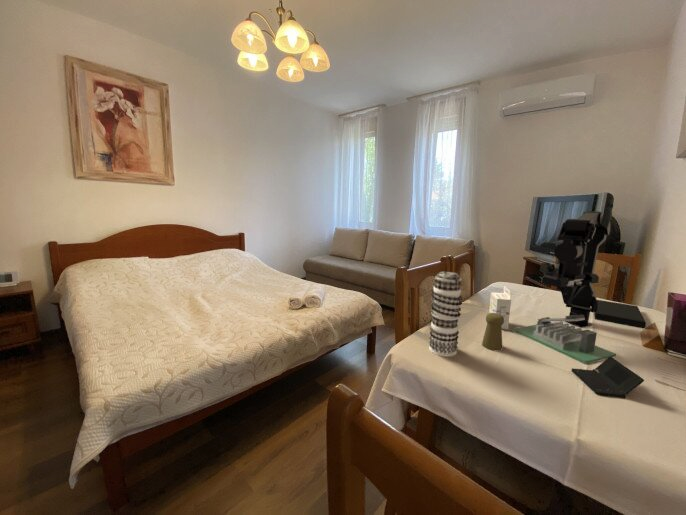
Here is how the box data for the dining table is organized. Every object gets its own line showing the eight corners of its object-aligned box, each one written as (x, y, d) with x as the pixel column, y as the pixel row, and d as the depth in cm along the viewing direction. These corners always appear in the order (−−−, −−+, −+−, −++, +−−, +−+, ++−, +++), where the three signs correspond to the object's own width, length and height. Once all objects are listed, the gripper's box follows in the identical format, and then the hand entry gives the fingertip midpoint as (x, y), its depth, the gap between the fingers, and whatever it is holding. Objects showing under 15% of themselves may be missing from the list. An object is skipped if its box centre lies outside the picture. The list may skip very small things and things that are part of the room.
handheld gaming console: (564, 365, 80) (594, 341, 77) (581, 379, 81) (611, 356, 79) (597, 398, 69) (634, 371, 66) (616, 412, 70) (653, 387, 68)
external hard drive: (594, 320, 117) (595, 313, 117) (593, 305, 135) (594, 299, 134) (644, 329, 108) (646, 322, 108) (636, 312, 126) (637, 306, 125)
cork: (500, 343, 96) (504, 312, 94) (504, 352, 90) (507, 318, 88) (480, 340, 98) (483, 309, 96) (483, 348, 92) (486, 316, 90)
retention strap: (547, 320, 103) (546, 315, 103) (585, 319, 91) (584, 314, 92) (538, 321, 102) (537, 316, 102) (575, 321, 90) (574, 316, 90)
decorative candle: (421, 346, 94) (425, 271, 90) (443, 341, 98) (448, 269, 93) (441, 359, 86) (447, 278, 81) (464, 353, 89) (471, 275, 85)
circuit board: (540, 325, 110) (541, 323, 110) (616, 356, 88) (616, 353, 88) (513, 330, 106) (513, 328, 106) (584, 364, 84) (585, 361, 84)
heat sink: (552, 329, 105) (554, 313, 104) (602, 349, 91) (605, 331, 90) (527, 333, 102) (529, 317, 100) (575, 355, 87) (578, 336, 86)
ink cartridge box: (487, 319, 116) (491, 284, 113) (500, 321, 115) (504, 285, 112) (494, 328, 108) (497, 290, 105) (508, 329, 107) (512, 291, 104)
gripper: (567, 252, 104) (561, 294, 107) (529, 255, 98) (523, 299, 101) (603, 258, 94) (595, 303, 96) (562, 261, 88) (555, 310, 90)
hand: (566, 303), depth 96 cm, fingers closed
